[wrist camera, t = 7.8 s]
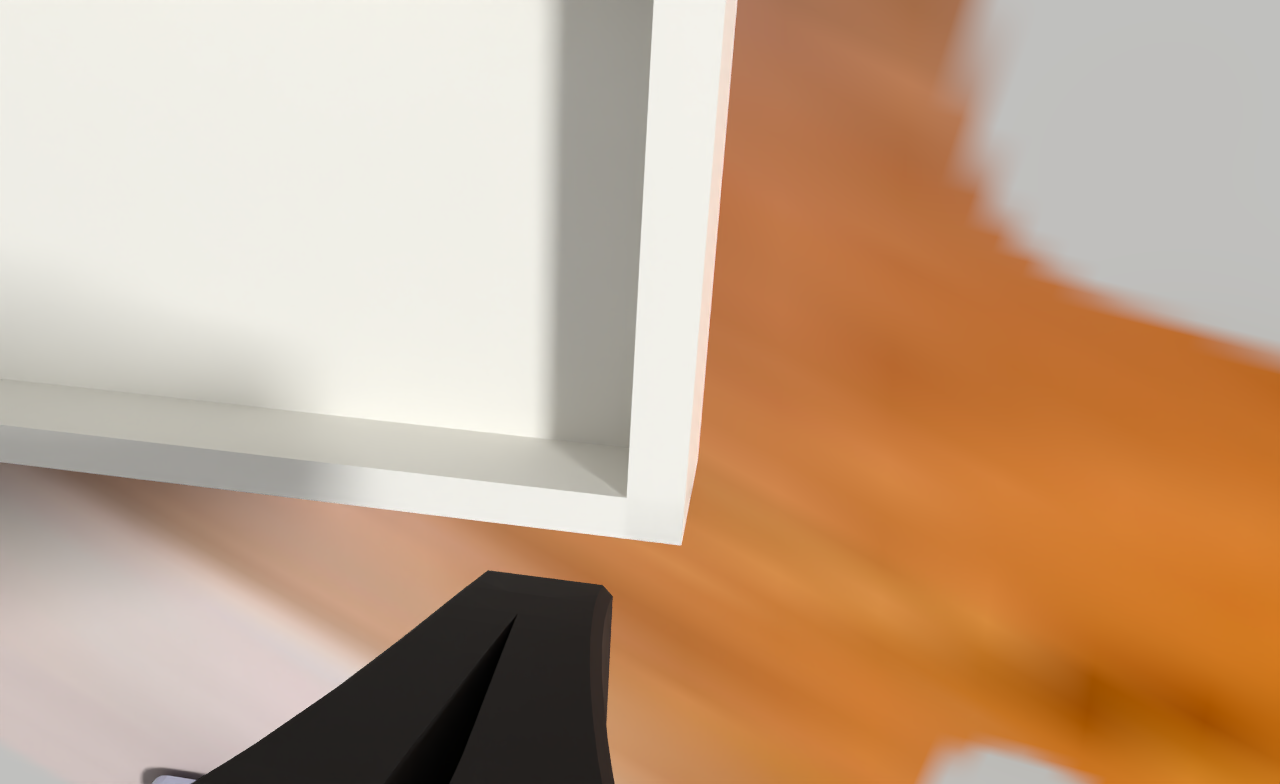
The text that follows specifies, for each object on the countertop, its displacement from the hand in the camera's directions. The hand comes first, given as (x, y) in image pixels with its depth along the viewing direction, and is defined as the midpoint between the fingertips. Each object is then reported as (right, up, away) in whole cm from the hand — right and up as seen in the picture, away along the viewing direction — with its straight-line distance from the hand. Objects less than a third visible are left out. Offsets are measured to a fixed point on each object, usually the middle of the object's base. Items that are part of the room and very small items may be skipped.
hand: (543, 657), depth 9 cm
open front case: (-6, +7, +8) cm, 12 cm away
